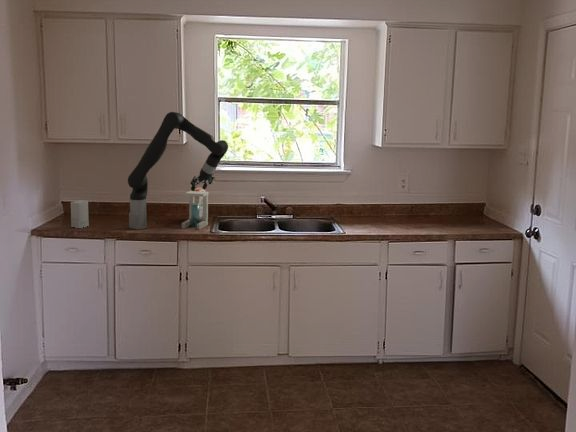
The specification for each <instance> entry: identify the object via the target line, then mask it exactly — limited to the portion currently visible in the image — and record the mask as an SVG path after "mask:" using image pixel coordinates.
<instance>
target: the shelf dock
mask: <svg viewBox="0 0 576 432" xmlns="http://www.w3.org/2000/svg"><path fill="white" fill-rule="evenodd" d="M209 194H210V193H209V191H207V192H200V191H191V190H189V191H186V192H184V195H183V196H184V197H185V196H186V197H189V198H188V199H189V202H188V203H189V204H188V205H189V210H188V215H189V216H188V219H187V220H185V221H182V222H181V229H186V228H188V227H189V226H191V203H194V196H199V197H203V219H199V223H198V224H197V227H196V230H201V229H202V228H205V227H206V226H208V224H209V221H208V220H209Z"/></svg>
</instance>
